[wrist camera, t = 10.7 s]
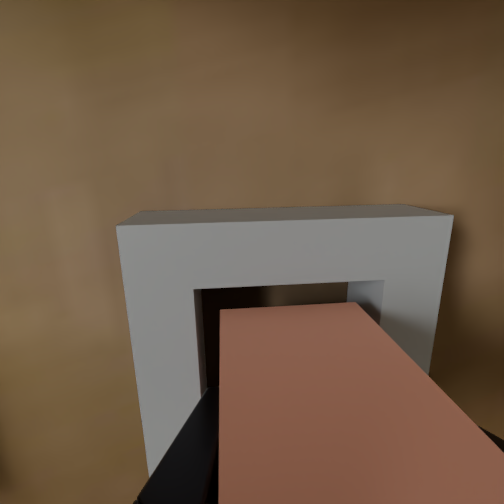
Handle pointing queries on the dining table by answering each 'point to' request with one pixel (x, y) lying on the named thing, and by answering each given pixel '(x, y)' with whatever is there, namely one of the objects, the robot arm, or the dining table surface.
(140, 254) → the socket
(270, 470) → the leg peg
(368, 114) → the dining table surface
